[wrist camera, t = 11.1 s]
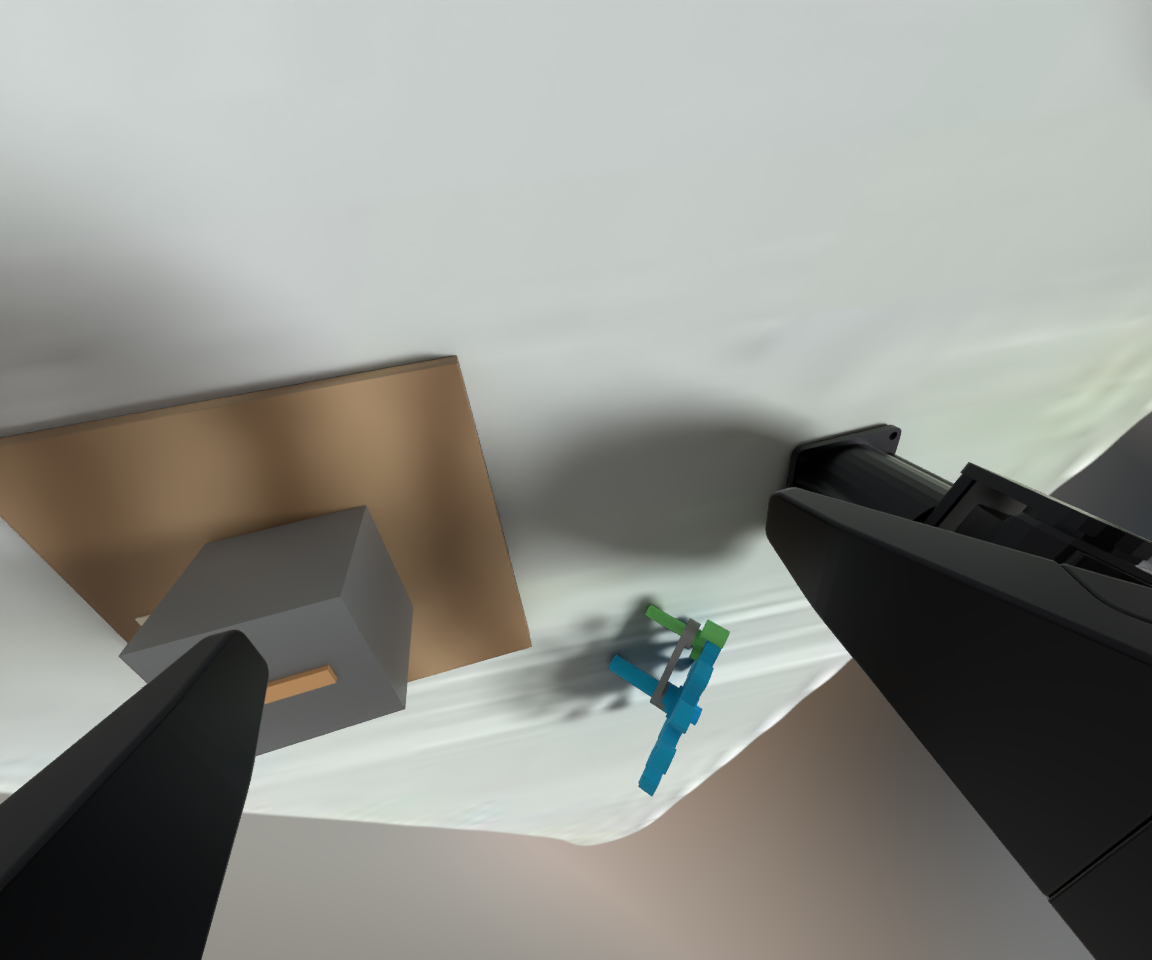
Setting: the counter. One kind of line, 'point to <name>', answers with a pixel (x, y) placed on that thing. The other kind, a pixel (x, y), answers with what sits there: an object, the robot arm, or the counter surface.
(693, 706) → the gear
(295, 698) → the grey box with handle
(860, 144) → the counter surface
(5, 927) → the robot arm
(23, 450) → the plate
